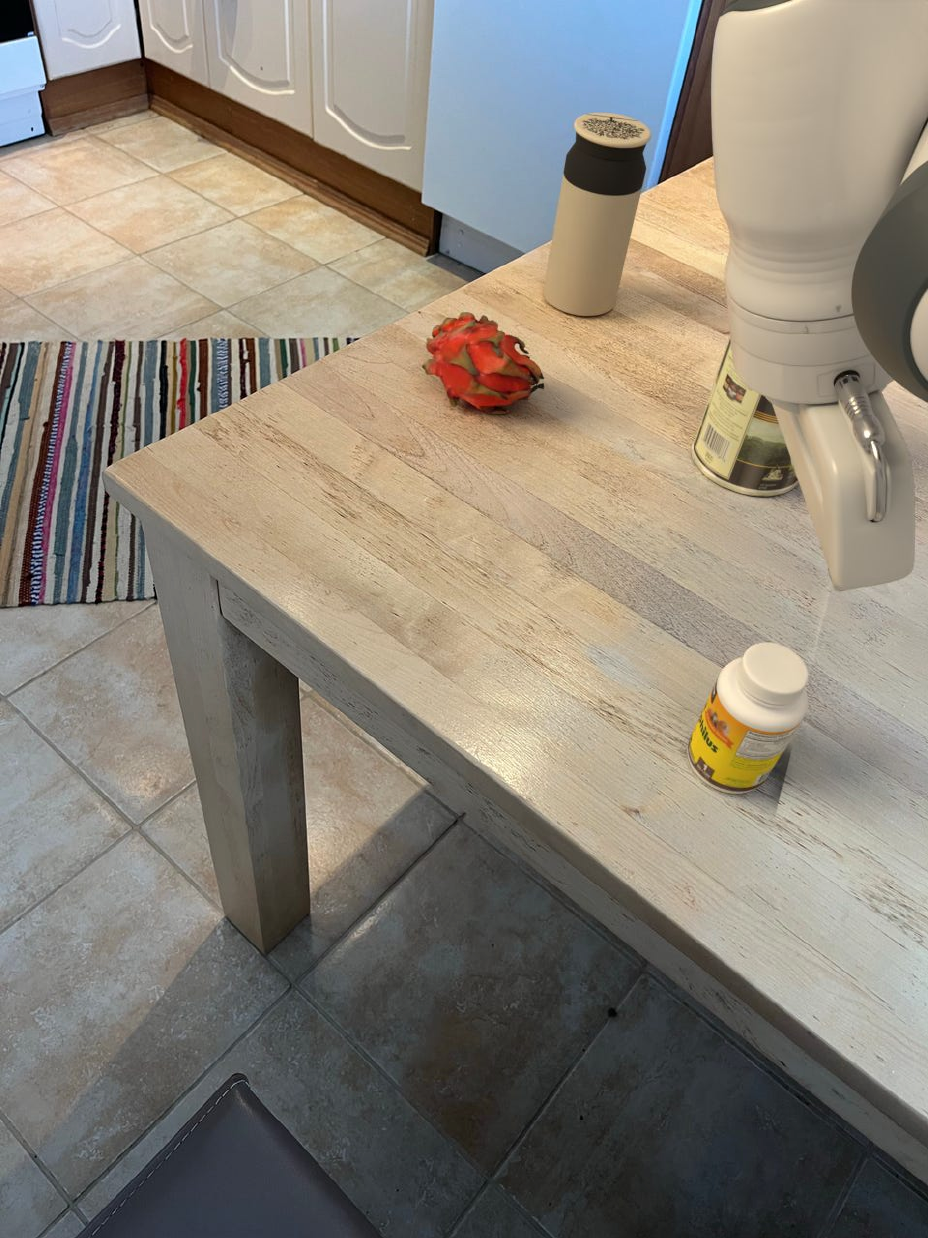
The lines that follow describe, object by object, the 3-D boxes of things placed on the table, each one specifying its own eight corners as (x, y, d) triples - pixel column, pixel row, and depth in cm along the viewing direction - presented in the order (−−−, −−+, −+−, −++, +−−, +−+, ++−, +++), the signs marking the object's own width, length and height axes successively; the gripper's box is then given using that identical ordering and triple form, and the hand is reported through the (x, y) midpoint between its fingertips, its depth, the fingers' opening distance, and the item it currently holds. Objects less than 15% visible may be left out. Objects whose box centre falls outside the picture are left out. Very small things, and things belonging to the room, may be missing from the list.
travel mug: (610, 324, 101) (651, 149, 88) (537, 310, 102) (567, 134, 88) (617, 289, 106) (656, 119, 93) (548, 275, 107) (577, 105, 94)
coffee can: (818, 460, 88) (882, 323, 78) (773, 513, 82) (836, 373, 72) (720, 413, 92) (769, 276, 81) (670, 461, 86) (715, 320, 75)
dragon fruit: (418, 384, 93) (525, 440, 91) (392, 376, 85) (509, 437, 83) (456, 302, 91) (566, 358, 89) (433, 285, 83) (554, 347, 81)
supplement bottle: (681, 724, 66) (725, 625, 58) (760, 734, 66) (814, 637, 58) (687, 793, 62) (735, 697, 54) (771, 803, 62) (831, 709, 54)
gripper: (966, 438, 38) (940, 648, 48) (839, 207, 52) (839, 408, 62) (804, 471, 40) (812, 669, 50) (722, 238, 53) (740, 429, 63)
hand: (826, 522), depth 56 cm, fingers open, 8 cm apart
